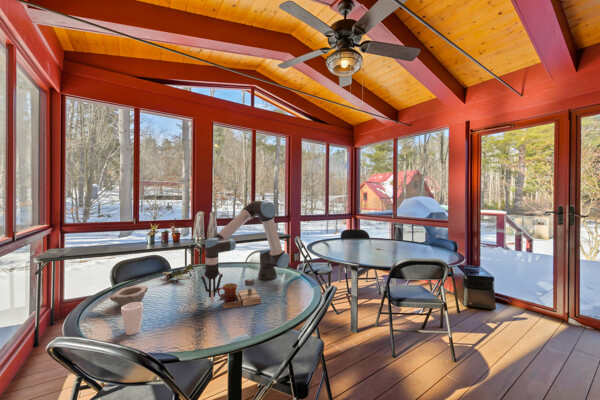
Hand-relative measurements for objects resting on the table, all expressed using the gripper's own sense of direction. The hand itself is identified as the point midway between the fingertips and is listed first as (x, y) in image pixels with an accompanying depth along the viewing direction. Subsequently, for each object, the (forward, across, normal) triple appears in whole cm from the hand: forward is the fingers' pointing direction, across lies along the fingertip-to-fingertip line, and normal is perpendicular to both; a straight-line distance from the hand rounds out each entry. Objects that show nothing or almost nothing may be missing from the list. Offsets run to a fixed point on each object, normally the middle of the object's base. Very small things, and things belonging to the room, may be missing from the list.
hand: (212, 302), depth 164 cm
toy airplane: (+2, -20, +62) cm, 66 cm away
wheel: (-8, +23, 0) cm, 24 cm away
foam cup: (+3, -39, -17) cm, 42 cm away
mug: (+2, +9, 0) cm, 9 cm away
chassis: (+2, +17, 0) cm, 17 cm away
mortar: (+3, -47, +20) cm, 51 cm away
